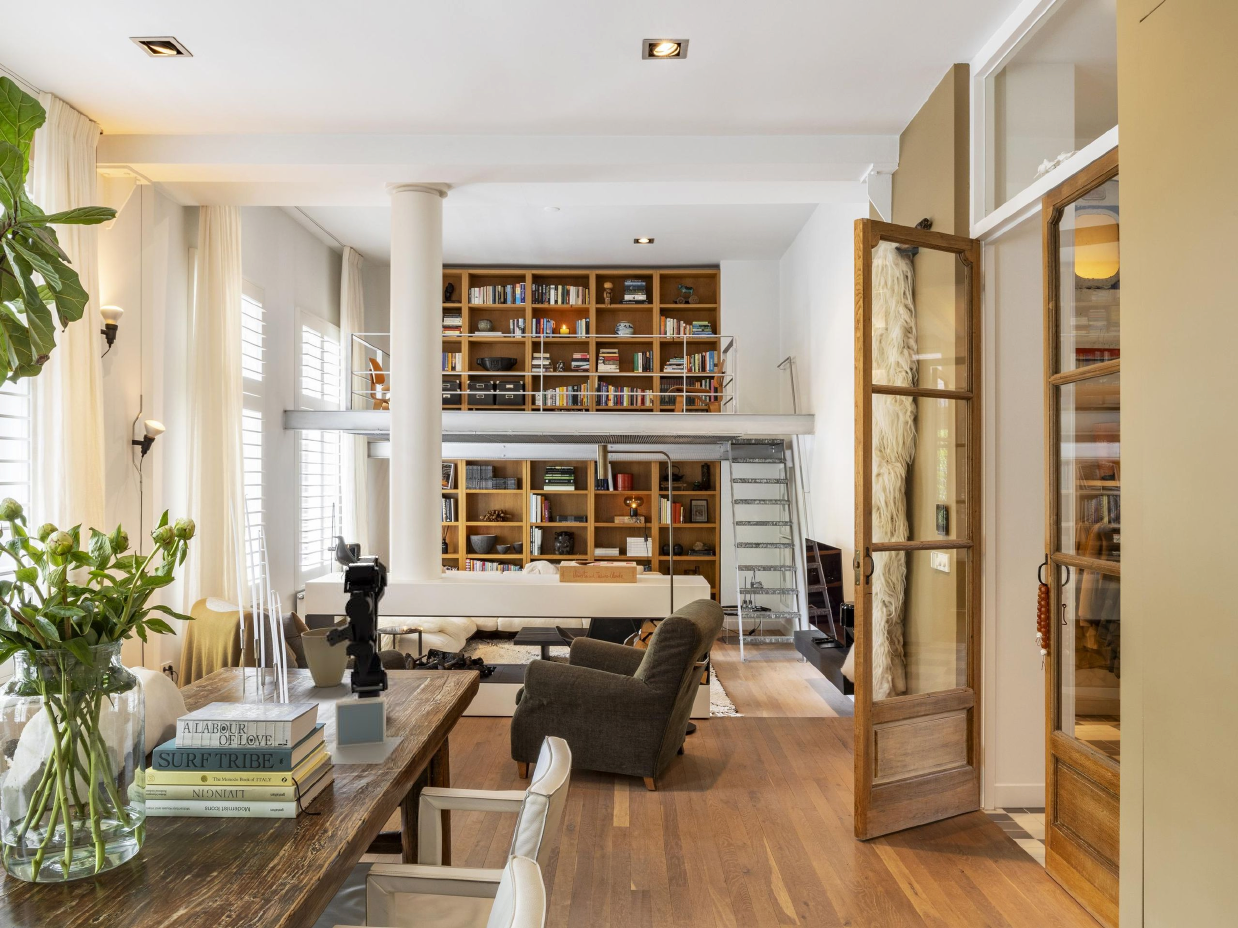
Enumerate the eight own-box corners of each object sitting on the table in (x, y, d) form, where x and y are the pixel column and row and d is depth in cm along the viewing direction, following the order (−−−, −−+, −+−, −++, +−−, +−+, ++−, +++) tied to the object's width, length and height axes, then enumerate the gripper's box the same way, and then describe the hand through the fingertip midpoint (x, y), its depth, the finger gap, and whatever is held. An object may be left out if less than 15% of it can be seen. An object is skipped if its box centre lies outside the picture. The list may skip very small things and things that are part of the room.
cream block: (337, 742, 192) (336, 699, 193) (386, 738, 195) (385, 696, 195) (335, 747, 189) (335, 703, 189) (385, 743, 192) (384, 700, 192)
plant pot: (342, 675, 261) (342, 625, 261) (361, 684, 249) (360, 631, 250) (294, 683, 251) (294, 631, 252) (311, 693, 240) (310, 638, 240)
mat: (337, 739, 196) (337, 737, 196) (404, 738, 196) (404, 736, 196) (308, 765, 178) (308, 764, 178) (382, 764, 178) (382, 763, 178)
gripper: (332, 609, 211) (332, 671, 211) (323, 621, 193) (323, 688, 192) (377, 607, 213) (378, 668, 213) (372, 619, 195) (373, 685, 195)
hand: (363, 677), depth 203 cm, fingers closed
